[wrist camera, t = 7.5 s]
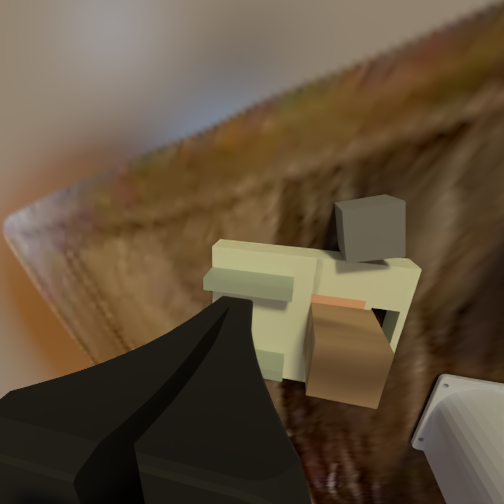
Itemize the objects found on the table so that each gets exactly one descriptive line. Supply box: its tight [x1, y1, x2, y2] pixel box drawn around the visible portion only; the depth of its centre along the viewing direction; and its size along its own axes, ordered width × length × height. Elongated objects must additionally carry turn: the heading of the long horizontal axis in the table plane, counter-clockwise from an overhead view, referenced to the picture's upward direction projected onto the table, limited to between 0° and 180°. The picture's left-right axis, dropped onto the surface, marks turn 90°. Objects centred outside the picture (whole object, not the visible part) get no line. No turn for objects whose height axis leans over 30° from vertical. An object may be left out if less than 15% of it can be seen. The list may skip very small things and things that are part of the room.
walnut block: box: [304, 302, 394, 409], centre depth 17 cm, size 4×4×4 cm
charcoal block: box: [334, 194, 405, 263], centre depth 16 cm, size 4×4×4 cm
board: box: [203, 239, 422, 382], centre depth 20 cm, size 12×15×4 cm
